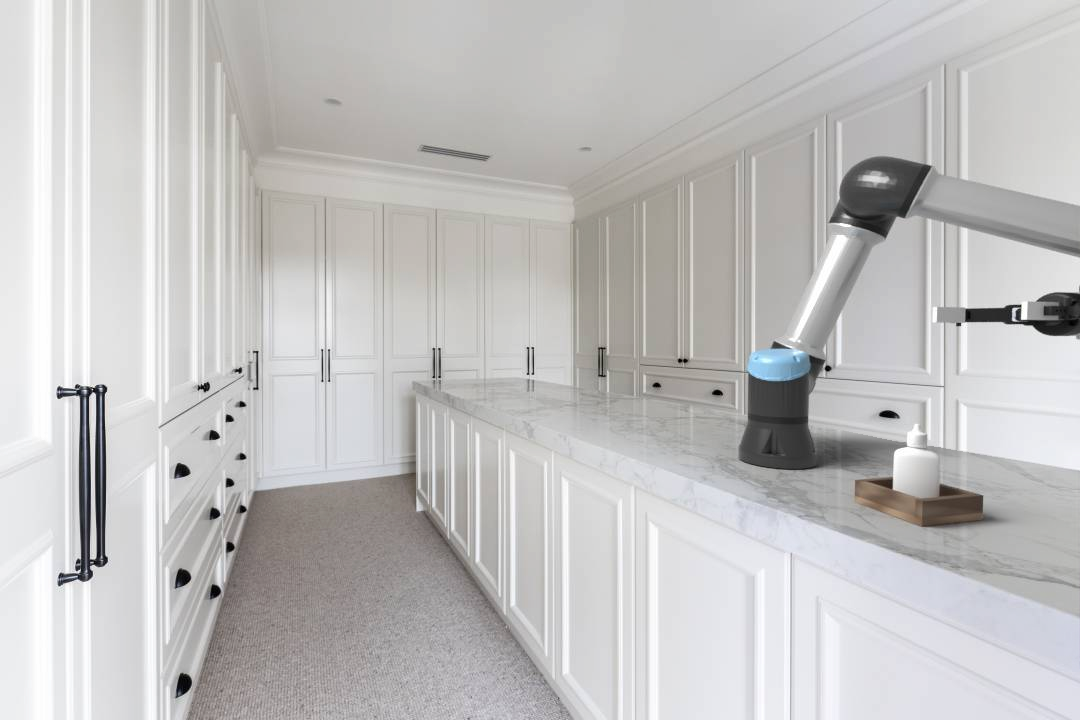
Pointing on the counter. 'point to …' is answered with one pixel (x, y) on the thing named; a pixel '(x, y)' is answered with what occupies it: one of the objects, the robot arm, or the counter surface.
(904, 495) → the walnut socket block
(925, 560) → the counter surface
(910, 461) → the eye dropper bottle
